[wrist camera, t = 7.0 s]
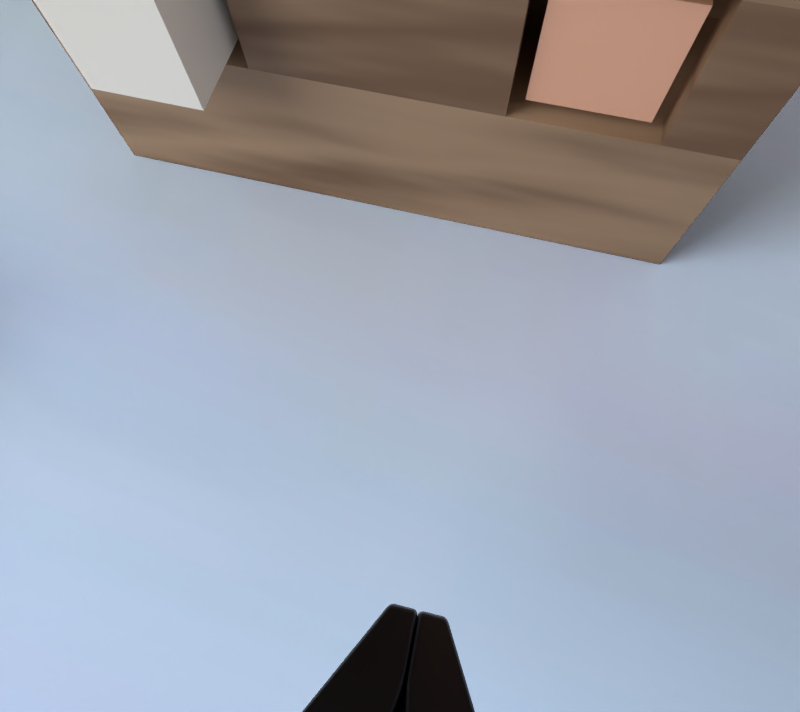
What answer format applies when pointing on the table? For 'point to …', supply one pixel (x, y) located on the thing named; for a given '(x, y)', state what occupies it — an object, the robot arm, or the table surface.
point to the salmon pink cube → (613, 53)
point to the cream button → (146, 45)
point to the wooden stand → (473, 117)
